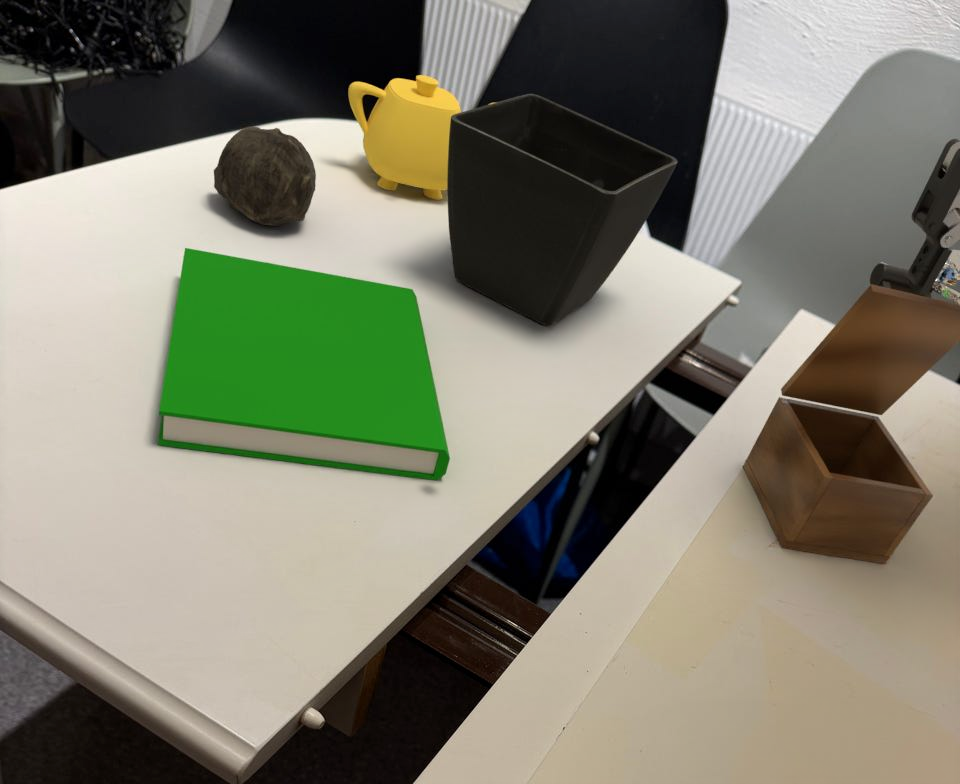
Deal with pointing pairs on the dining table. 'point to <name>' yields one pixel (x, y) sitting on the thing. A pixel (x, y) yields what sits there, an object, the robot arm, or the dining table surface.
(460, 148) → the flower pot
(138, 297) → the dining table surface
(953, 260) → the ring
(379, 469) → the book
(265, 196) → the rock
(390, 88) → the teapot
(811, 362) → the lid
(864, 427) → the open wooden box
